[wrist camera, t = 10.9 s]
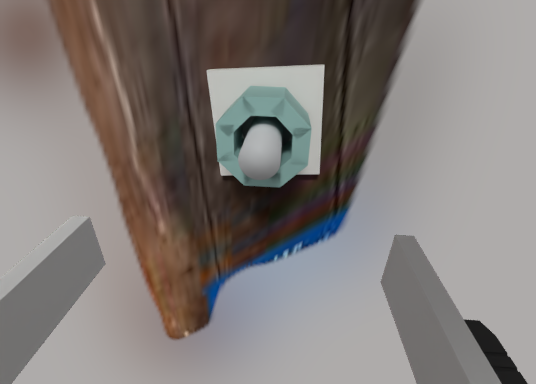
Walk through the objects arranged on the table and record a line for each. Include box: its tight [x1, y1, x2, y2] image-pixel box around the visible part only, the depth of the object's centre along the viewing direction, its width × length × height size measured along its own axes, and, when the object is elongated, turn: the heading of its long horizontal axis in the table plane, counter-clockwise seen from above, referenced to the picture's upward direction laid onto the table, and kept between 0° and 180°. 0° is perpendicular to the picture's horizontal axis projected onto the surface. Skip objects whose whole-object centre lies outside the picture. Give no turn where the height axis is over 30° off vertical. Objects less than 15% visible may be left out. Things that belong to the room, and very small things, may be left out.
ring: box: [215, 86, 312, 187], centre depth 27 cm, size 8×8×5 cm
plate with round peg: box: [207, 65, 324, 180], centre depth 26 cm, size 11×11×10 cm
